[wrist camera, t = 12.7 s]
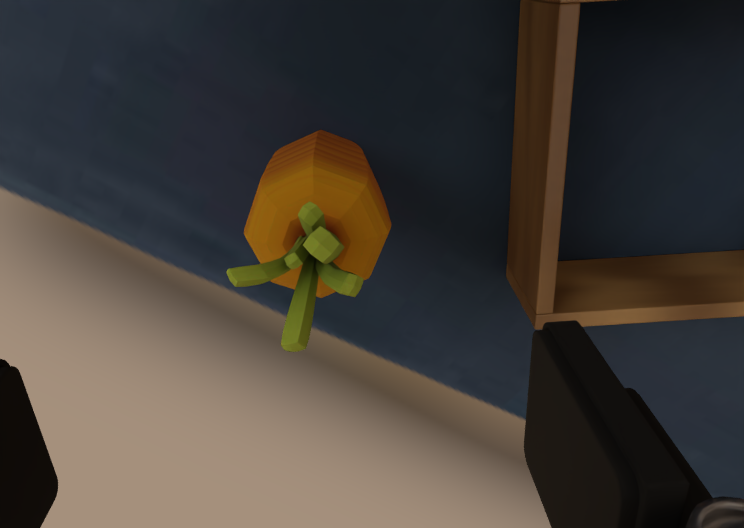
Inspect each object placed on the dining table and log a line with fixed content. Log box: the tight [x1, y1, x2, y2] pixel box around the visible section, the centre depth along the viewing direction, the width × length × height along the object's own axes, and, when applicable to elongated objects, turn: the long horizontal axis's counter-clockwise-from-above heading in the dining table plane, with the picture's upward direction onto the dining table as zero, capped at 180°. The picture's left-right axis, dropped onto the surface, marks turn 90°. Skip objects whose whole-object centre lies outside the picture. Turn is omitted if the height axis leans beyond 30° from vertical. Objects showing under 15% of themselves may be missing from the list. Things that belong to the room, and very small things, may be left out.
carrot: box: [227, 130, 391, 352], centre depth 23 cm, size 5×5×15 cm
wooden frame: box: [506, 0, 744, 329], centre depth 28 cm, size 15×15×6 cm
